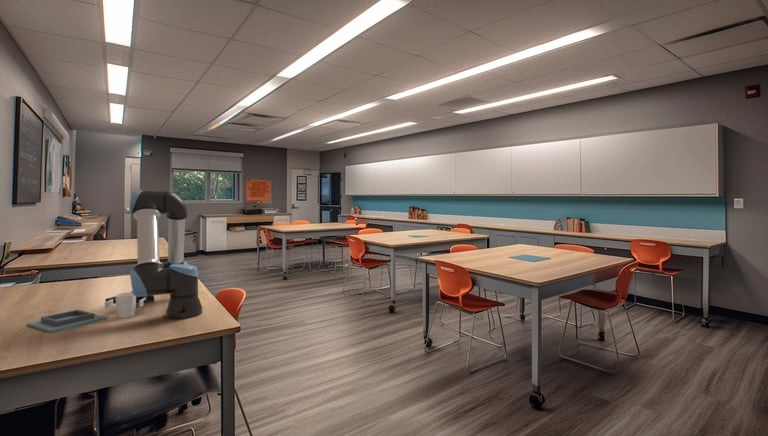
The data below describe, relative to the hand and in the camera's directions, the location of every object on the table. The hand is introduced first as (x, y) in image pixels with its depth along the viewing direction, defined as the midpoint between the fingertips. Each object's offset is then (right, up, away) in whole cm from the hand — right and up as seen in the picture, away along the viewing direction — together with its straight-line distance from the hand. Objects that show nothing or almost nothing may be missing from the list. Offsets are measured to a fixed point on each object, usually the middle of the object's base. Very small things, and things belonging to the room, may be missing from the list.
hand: (122, 304), depth 168 cm
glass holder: (-19, -6, -7) cm, 21 cm away
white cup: (-1, -6, +3) cm, 7 cm away
